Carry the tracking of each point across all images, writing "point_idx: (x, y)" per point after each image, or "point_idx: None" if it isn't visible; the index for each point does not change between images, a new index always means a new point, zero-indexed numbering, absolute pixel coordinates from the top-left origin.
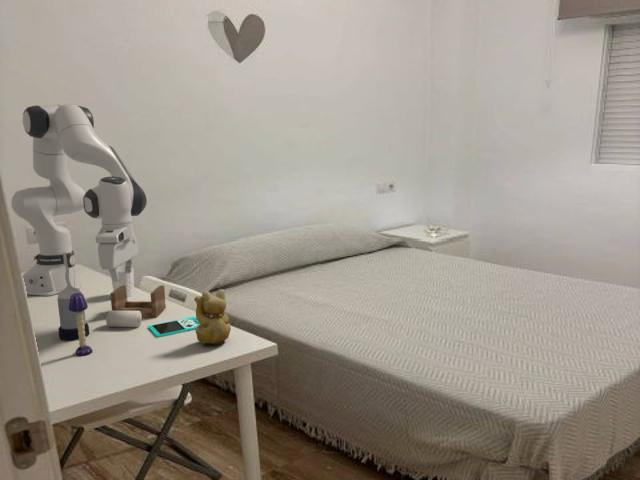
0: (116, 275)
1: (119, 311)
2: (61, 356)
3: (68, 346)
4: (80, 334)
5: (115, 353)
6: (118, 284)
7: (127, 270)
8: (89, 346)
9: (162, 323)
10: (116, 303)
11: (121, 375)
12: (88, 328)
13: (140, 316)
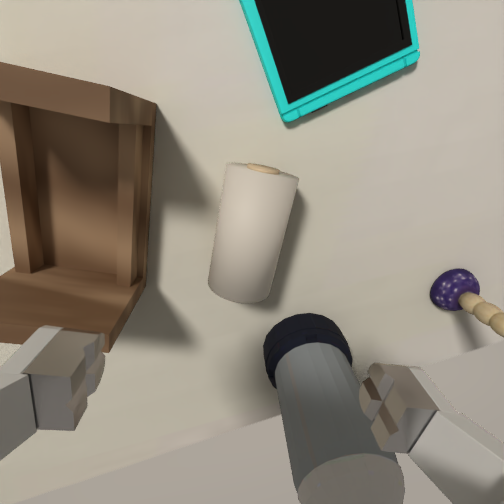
0: (462, 422)
1: (253, 261)
2: (448, 332)
3: (383, 336)
4: None
5: (500, 198)
6: None
7: (83, 376)
8: (457, 283)
9: (273, 52)
10: (118, 299)
11: None
12: (307, 325)
13: (250, 164)
